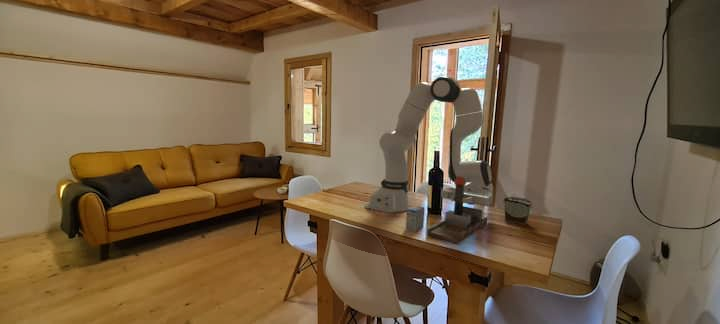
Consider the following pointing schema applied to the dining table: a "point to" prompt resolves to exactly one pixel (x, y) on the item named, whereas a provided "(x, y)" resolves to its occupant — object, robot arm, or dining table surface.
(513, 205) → the food container
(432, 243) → the dining table surface
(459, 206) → the red knob lever
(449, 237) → the press base
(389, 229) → the dining table surface
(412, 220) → the medicine box
